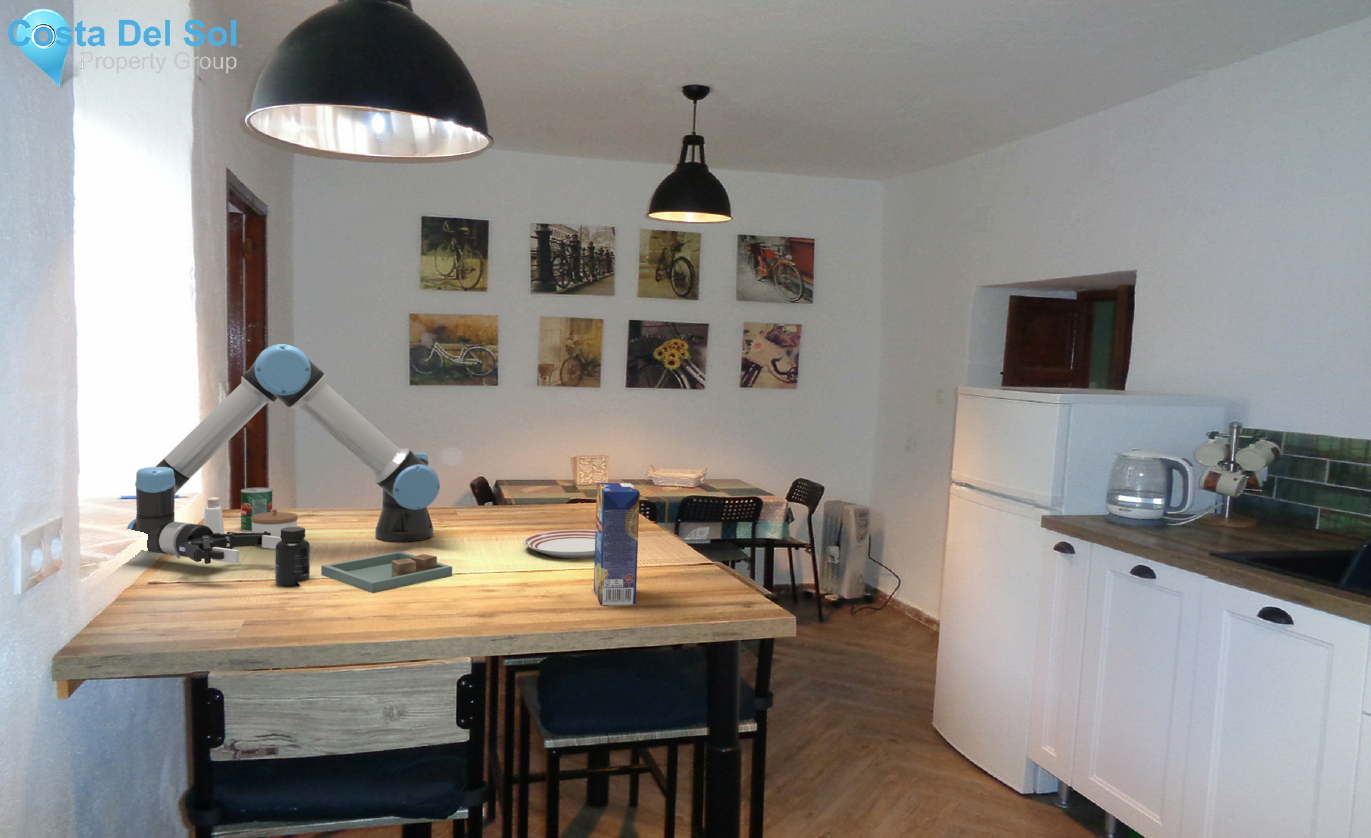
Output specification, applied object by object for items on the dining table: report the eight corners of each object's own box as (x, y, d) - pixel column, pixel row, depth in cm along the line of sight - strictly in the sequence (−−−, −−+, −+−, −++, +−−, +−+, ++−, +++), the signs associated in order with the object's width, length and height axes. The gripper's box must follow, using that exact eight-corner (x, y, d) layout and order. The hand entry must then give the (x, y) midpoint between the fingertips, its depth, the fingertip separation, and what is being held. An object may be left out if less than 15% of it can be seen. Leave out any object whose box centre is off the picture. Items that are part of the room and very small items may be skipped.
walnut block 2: (423, 571, 196) (423, 553, 196) (436, 573, 194) (436, 556, 194) (410, 574, 193) (410, 557, 192) (423, 577, 191) (423, 559, 191)
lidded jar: (305, 542, 224) (306, 507, 223) (282, 551, 213) (282, 514, 212) (266, 540, 225) (267, 504, 224) (241, 549, 214) (241, 512, 214)
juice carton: (635, 604, 180) (639, 491, 178) (600, 605, 178) (604, 491, 176) (626, 589, 192) (630, 482, 190) (593, 589, 190) (597, 482, 188)
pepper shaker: (196, 540, 221) (196, 498, 220) (216, 536, 226) (216, 495, 225) (210, 543, 219) (210, 500, 218) (230, 539, 224) (229, 497, 223)
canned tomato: (278, 528, 239) (279, 489, 238) (254, 533, 232) (254, 493, 231) (258, 525, 242) (258, 486, 242) (234, 529, 235) (234, 490, 234)
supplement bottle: (267, 584, 184) (268, 529, 183) (293, 577, 190) (293, 524, 190) (292, 589, 182) (292, 533, 181) (316, 581, 188) (317, 527, 187)
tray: (400, 563, 206) (400, 551, 206) (451, 579, 194) (452, 566, 193) (321, 578, 190) (321, 565, 190) (372, 597, 178) (372, 583, 178)
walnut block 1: (409, 576, 192) (409, 558, 191) (415, 580, 188) (416, 562, 188) (391, 578, 189) (391, 560, 189) (397, 582, 186) (397, 564, 186)
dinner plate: (506, 558, 216) (506, 545, 216) (543, 536, 243) (543, 525, 243) (611, 567, 211) (612, 554, 211) (637, 544, 238) (638, 532, 238)
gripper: (232, 545, 206) (304, 555, 200) (137, 568, 183) (215, 580, 176) (232, 514, 206) (304, 523, 199) (137, 534, 182) (215, 544, 176)
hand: (262, 550), depth 188 cm, fingers open, 13 cm apart
